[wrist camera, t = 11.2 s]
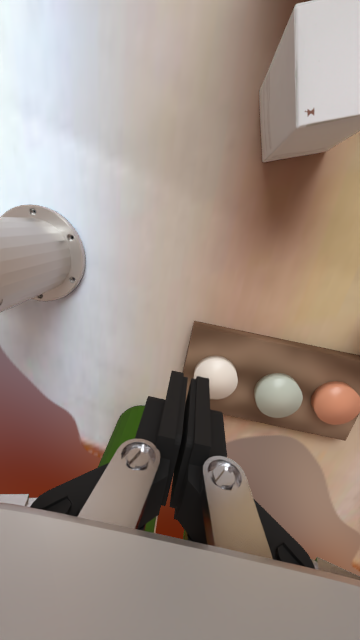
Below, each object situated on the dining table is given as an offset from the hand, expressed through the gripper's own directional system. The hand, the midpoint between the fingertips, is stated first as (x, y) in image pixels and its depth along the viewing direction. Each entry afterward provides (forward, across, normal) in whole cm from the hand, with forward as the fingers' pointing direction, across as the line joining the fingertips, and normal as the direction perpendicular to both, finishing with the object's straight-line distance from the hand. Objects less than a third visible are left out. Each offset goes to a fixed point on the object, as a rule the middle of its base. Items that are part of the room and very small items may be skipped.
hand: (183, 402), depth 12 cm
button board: (+27, -14, +12) cm, 33 cm away
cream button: (+25, -5, +12) cm, 28 cm away
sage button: (+24, -14, +12) cm, 30 cm away
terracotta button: (+25, -22, +12) cm, 36 cm away
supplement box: (+27, -7, -20) cm, 34 cm away
